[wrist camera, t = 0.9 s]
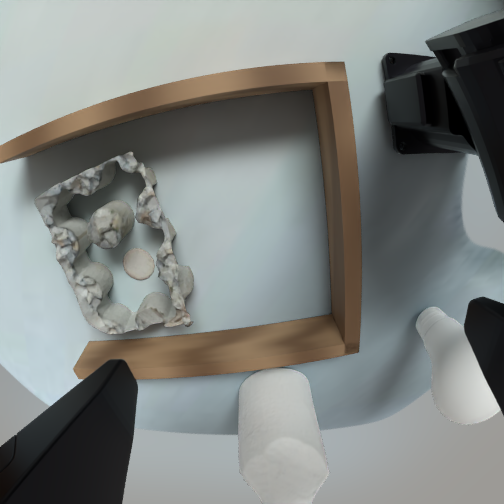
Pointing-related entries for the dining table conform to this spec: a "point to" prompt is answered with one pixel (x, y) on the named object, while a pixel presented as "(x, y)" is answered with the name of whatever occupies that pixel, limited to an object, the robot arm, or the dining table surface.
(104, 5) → the dining table surface
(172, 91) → the open wooden frame
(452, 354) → the lightbulb
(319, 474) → the roll
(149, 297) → the egg carton
